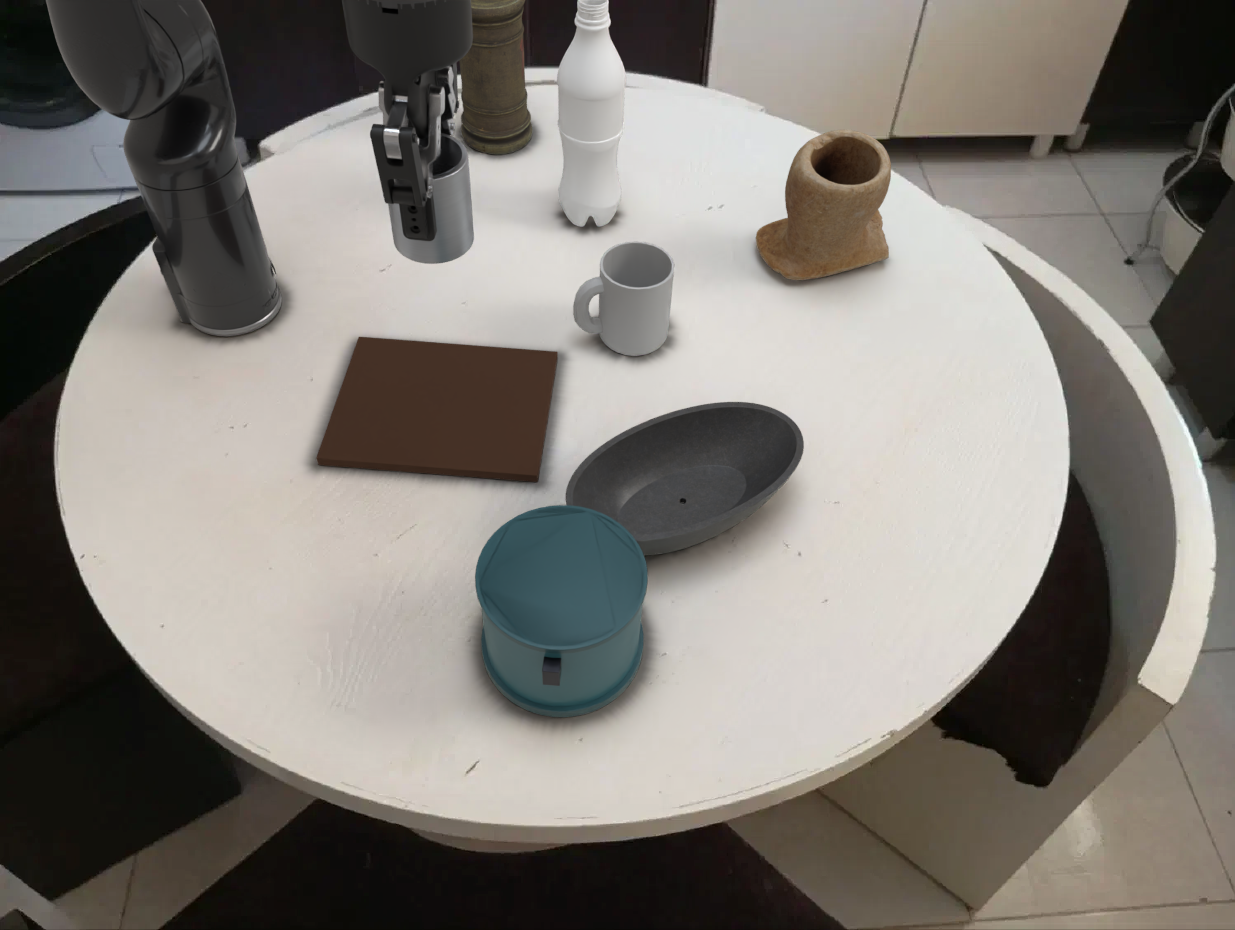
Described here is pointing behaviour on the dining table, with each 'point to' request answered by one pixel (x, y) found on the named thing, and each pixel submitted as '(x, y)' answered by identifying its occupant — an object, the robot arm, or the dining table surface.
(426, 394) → the mat
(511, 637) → the teal round canister
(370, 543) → the dining table surface
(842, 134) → the stone cup
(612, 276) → the cup
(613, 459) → the bowl
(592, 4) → the water bottle
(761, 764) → the dining table surface
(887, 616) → the dining table surface
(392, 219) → the silver cup
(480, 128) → the container
